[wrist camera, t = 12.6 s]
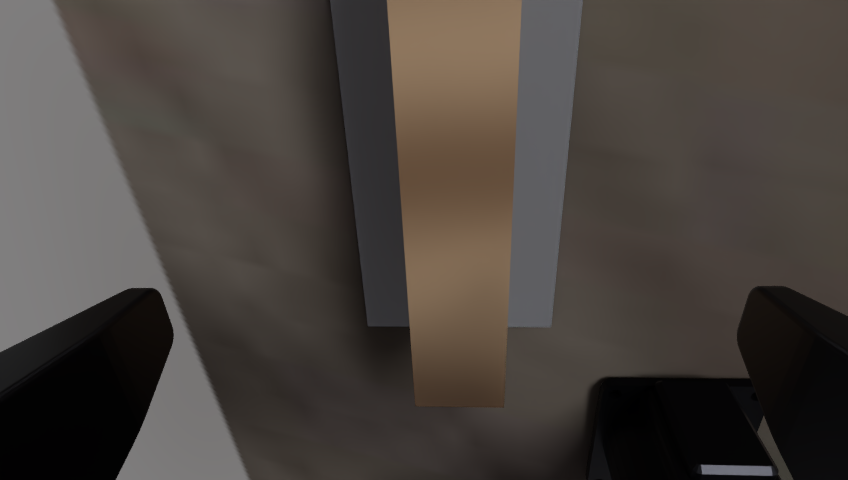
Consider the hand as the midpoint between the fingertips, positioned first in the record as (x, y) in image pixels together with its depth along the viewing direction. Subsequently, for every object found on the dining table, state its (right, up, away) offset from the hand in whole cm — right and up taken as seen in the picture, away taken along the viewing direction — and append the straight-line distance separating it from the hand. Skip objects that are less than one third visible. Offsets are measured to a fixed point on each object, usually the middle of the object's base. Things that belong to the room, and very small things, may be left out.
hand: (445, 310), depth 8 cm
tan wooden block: (+1, +5, +8) cm, 10 cm away
